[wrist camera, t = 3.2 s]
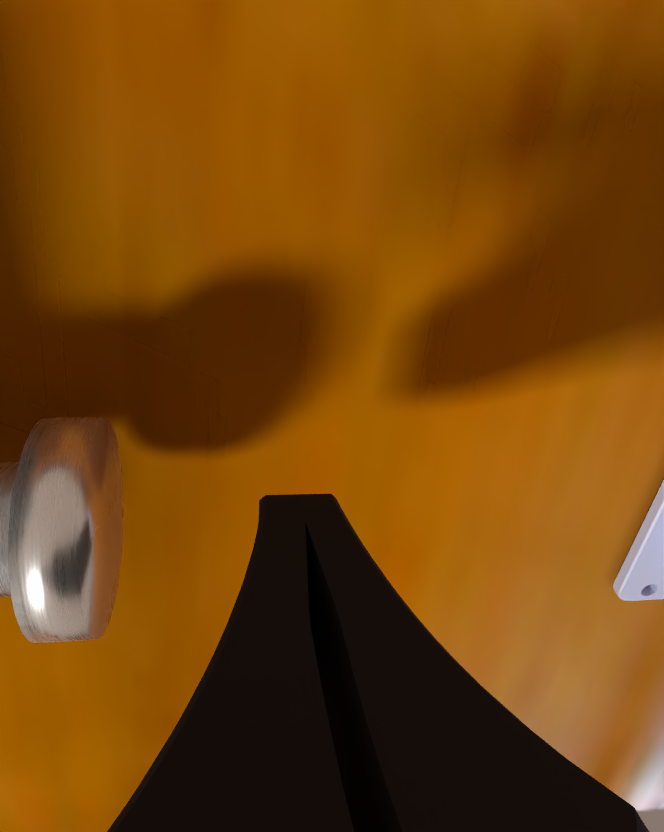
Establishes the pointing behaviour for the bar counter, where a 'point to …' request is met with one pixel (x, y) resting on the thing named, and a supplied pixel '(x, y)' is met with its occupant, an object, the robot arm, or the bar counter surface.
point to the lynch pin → (62, 529)
